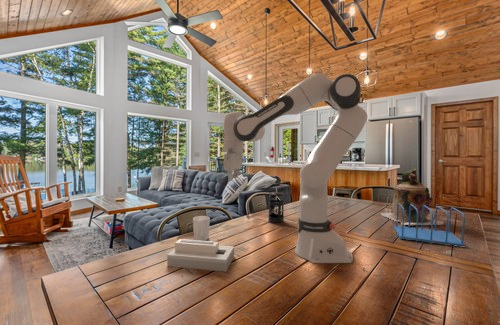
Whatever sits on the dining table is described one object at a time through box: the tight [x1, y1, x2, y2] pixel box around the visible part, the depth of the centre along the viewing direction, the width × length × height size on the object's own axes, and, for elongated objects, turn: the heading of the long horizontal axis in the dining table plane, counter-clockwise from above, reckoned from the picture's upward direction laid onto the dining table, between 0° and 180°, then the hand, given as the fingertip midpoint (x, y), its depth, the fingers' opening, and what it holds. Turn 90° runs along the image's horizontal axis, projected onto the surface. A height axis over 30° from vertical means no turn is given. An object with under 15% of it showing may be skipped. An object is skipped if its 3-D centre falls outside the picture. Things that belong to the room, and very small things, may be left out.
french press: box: [268, 182, 285, 225], centre depth 145 cm, size 12×9×23 cm
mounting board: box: [166, 244, 235, 272], centre depth 92 cm, size 22×12×4 cm, turn 80°
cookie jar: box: [380, 168, 445, 226], centre depth 149 cm, size 25×25×32 cm
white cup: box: [192, 215, 211, 241], centre depth 116 cm, size 8×8×10 cm
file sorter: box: [393, 203, 467, 247], centre depth 119 cm, size 25×17×15 cm
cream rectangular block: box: [174, 238, 220, 254], centre depth 92 cm, size 16×4×6 cm, turn 80°
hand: (233, 179), depth 110 cm, fingers open, 8 cm apart
